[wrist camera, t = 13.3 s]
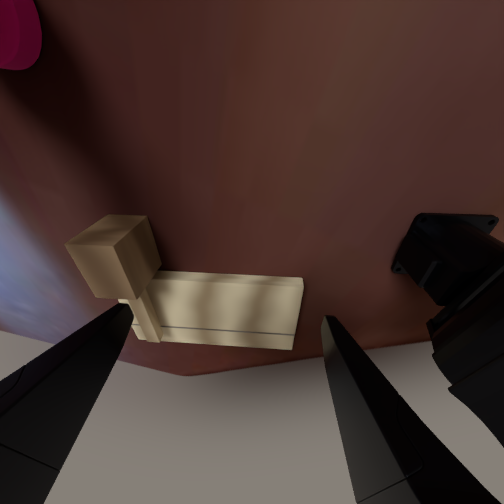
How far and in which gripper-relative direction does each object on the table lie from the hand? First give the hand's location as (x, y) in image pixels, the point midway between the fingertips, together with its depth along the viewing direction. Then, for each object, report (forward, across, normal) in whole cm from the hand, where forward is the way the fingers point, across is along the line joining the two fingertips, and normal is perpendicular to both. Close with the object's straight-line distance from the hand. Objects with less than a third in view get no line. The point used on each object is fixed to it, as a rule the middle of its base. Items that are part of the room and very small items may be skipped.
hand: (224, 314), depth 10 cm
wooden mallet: (+12, +12, +9) cm, 19 cm away
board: (+12, +5, +14) cm, 19 cm away
